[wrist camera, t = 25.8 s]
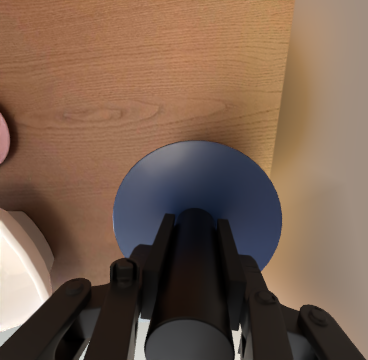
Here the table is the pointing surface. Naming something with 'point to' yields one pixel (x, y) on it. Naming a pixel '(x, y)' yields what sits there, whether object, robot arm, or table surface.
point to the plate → (4, 139)
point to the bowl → (22, 269)
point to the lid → (196, 238)
